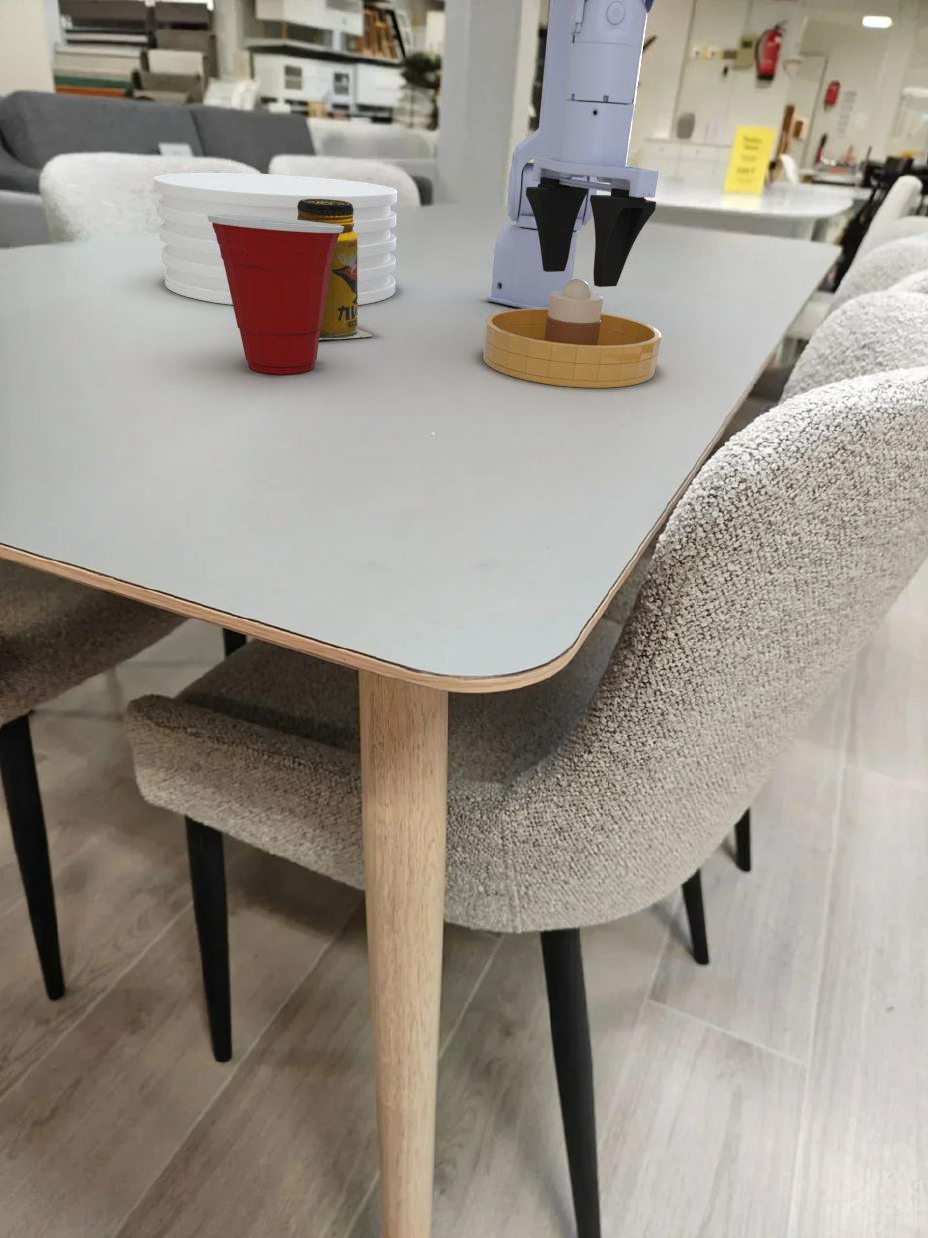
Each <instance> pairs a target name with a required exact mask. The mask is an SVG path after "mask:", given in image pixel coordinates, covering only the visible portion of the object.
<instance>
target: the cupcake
mask: <svg viewBox="0 0 928 1238" xmlns="http://www.w3.org/2000/svg"><path fill="white" fill-rule="evenodd" d="M603 299H604V298H603V296H602V295H600V294H597V293H593V292H592V289H591V287H590V285H589V283H588V282H586V281H585V280H583V279H581V278H573V280H571V281H569V282H568V283H567V284H566V285H565V287H564V289H563V291H555V292H552V293H551V294H550V302H549V311H548V315H547V320H546V330H545V339H544V341H549V342H556V343H565V344H575V345H595V346H598V339H599V331H600V324H601V320H600V316H601V313H602V308H603V301H604V300H603Z"/></svg>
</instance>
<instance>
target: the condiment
mask: <svg viewBox="0 0 928 1238" xmlns="http://www.w3.org/2000/svg"><path fill="white" fill-rule="evenodd" d="M297 208H298V218H297V220H304V221H312V222H321V223H328V224H335V225H341V226H343V227H344V229H343V232H341V233H339V237H338V241H337V242H336V248H335V251H334V253H333V260H332V264H331V266H330V273H329V280H328V287H327V294H326V301H325V308H324V315H323V322H322V328H321V329H320V336H319V341H320V340H321V341H322V340H344V339H345V340H346V339H357V338H369V337H372V336H373V334H371V333H369V332H367V331H364V330H362V329H360V328H357V326H358V315H359V314H358V309H359V305H358V302H357V299H358V292H357V291H358V290H357V250H358V246H357V236H356V233H355V232H354V231H353V226H354V222H353V211H354V209H353V205H352V204H351V203H349V202H345V201H340V200H329V199H303V200H300V201H299V202H298V206H297Z"/></svg>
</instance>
